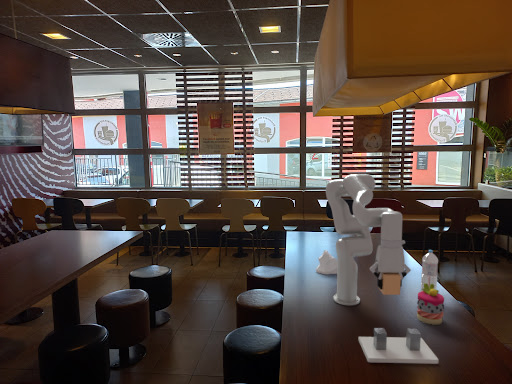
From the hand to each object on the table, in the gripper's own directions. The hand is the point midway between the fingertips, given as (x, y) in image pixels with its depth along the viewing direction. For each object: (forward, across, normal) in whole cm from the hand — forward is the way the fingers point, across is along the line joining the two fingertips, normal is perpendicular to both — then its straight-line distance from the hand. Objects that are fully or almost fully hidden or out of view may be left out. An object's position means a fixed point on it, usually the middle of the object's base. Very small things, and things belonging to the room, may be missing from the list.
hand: (389, 287), depth 137 cm
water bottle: (+20, -30, -35) cm, 50 cm away
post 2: (+20, -6, +10) cm, 23 cm away
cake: (+20, -23, -15) cm, 34 cm away
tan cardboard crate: (+1, 0, 0) cm, 1 cm away
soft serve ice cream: (+19, +13, -73) cm, 76 cm away
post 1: (+20, +6, +10) cm, 23 cm away
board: (+20, 0, +10) cm, 23 cm away
